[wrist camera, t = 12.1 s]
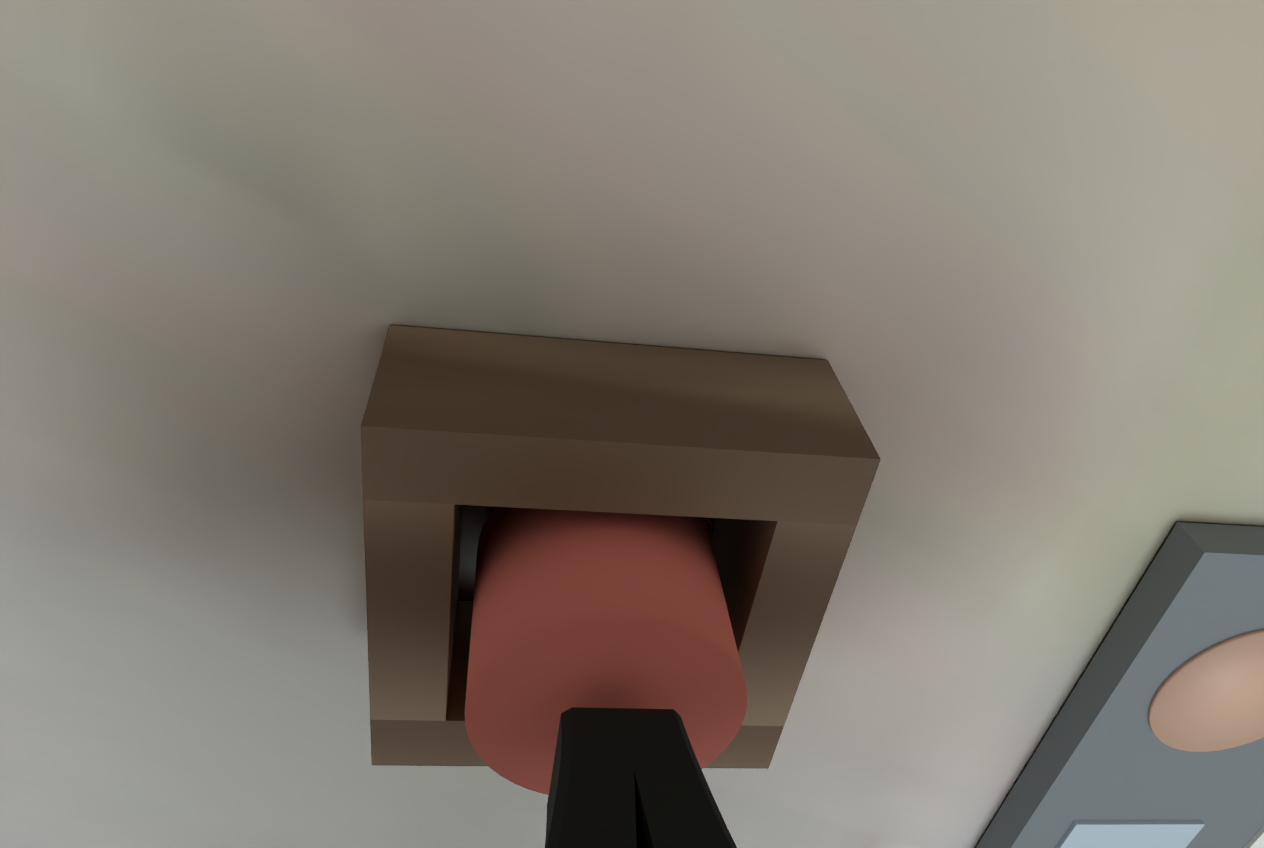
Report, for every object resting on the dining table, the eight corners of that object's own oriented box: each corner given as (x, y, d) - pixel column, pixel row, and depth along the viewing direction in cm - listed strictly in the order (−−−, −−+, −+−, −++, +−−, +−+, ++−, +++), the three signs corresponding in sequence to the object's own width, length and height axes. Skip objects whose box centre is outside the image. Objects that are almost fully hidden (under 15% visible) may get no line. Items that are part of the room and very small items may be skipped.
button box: (739, 652, 17) (767, 768, 15) (392, 642, 16) (372, 765, 14) (827, 360, 13) (880, 459, 11) (390, 324, 12) (361, 425, 10)
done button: (688, 639, 15) (718, 799, 13) (472, 632, 15) (459, 799, 12) (730, 469, 13) (775, 620, 11) (483, 454, 13) (470, 609, 10)
